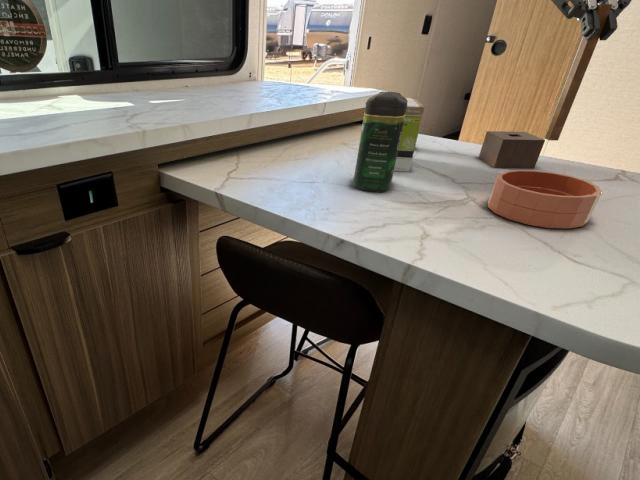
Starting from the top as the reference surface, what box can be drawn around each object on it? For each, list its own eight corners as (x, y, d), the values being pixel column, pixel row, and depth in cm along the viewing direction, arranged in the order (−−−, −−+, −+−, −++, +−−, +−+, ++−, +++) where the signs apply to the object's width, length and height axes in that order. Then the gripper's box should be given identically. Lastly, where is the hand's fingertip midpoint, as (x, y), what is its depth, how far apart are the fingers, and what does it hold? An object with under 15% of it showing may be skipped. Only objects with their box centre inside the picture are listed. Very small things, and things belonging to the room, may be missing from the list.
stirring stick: (553, 138, 76) (606, 4, 65) (558, 140, 74) (612, 4, 63) (544, 138, 76) (595, 4, 65) (548, 140, 74) (601, 4, 64)
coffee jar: (388, 196, 85) (409, 96, 75) (349, 191, 88) (364, 94, 77) (392, 182, 93) (411, 90, 82) (356, 178, 95) (370, 88, 85)
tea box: (410, 173, 98) (426, 105, 90) (367, 171, 100) (378, 104, 92) (402, 157, 111) (415, 96, 103) (364, 155, 112) (374, 95, 104)
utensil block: (515, 159, 109) (525, 131, 105) (533, 170, 101) (545, 140, 97) (477, 159, 109) (486, 131, 106) (493, 169, 101) (503, 139, 98)
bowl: (554, 201, 83) (567, 171, 79) (606, 233, 70) (624, 198, 66) (473, 199, 84) (483, 169, 80) (509, 230, 71) (522, 196, 67)
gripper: (560, -78, 65) (571, 15, 61) (653, -80, 64) (670, 14, 60) (530, -31, 72) (538, 54, 69) (614, -32, 71) (626, 55, 68)
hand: (600, 35), depth 65 cm, fingers closed on stirring stick, 1 cm apart
